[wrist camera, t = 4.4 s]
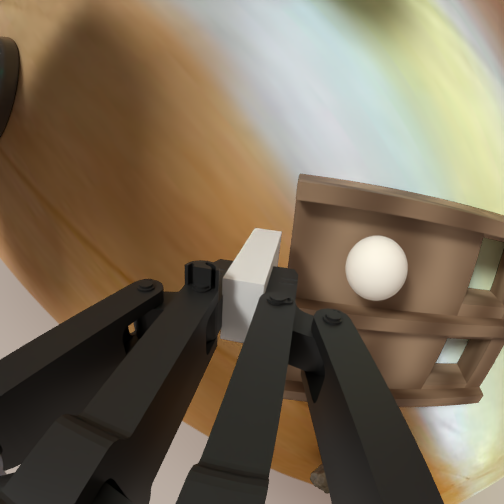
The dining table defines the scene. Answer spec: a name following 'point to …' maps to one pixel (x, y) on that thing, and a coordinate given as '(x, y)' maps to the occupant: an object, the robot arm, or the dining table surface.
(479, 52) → the dining table surface
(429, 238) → the board
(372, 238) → the ball cream
